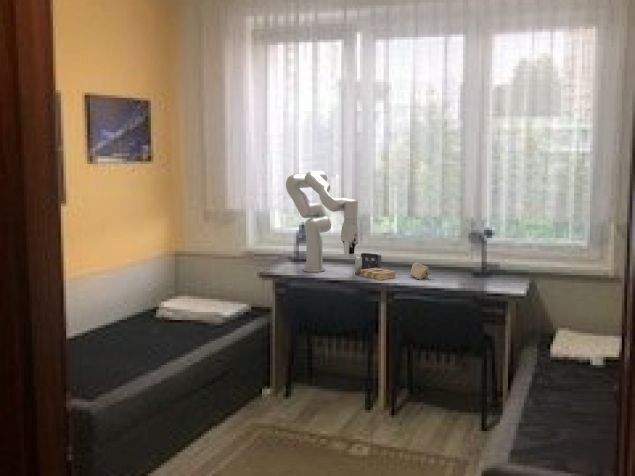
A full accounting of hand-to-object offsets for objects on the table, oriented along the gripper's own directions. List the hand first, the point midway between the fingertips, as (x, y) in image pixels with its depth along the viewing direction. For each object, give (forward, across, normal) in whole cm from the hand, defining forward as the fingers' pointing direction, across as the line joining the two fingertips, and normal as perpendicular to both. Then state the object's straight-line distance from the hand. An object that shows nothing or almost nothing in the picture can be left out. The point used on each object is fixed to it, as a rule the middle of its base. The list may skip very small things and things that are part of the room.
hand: (349, 252), depth 389 cm
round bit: (+13, 0, +8) cm, 16 cm away
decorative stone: (+12, +29, +27) cm, 41 cm away
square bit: (+3, 0, 0) cm, 3 cm away
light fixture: (+14, -4, +23) cm, 27 cm away
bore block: (+13, +12, +11) cm, 21 cm away
